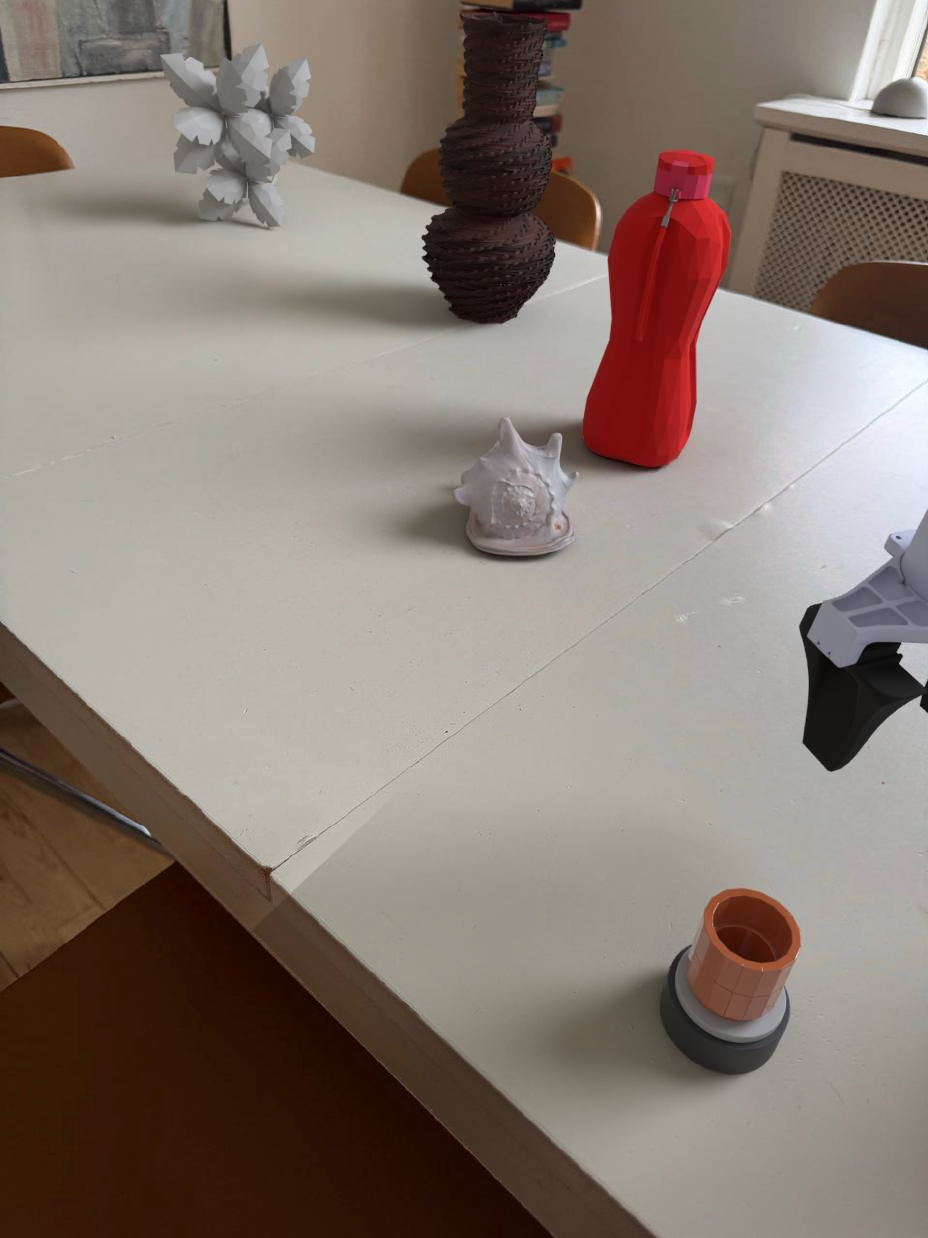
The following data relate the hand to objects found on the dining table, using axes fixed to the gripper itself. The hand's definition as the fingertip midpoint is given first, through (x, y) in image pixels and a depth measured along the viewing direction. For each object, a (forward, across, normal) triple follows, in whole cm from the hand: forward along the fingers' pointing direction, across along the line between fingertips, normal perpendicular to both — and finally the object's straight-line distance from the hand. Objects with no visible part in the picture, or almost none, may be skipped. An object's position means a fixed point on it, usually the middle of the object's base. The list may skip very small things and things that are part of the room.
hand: (881, 736), depth 46 cm
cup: (+7, +10, +5) cm, 14 cm away
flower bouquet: (+18, -3, -129) cm, 130 cm away
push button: (+10, +10, +6) cm, 15 cm away
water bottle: (+12, -16, -44) cm, 48 cm away
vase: (+14, -19, -79) cm, 83 cm away
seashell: (+12, 0, -36) cm, 38 cm away
